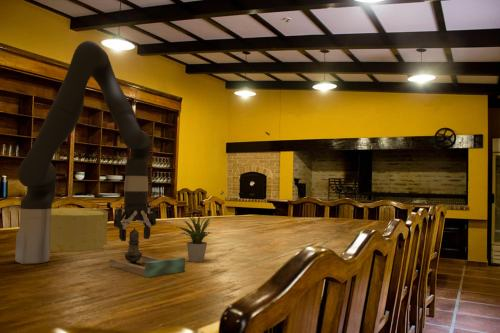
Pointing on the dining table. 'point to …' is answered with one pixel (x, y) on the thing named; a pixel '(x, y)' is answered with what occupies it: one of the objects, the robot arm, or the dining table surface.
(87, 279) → the dining table surface
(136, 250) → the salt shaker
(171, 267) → the guide channel
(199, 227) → the house plant
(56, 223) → the cheese
